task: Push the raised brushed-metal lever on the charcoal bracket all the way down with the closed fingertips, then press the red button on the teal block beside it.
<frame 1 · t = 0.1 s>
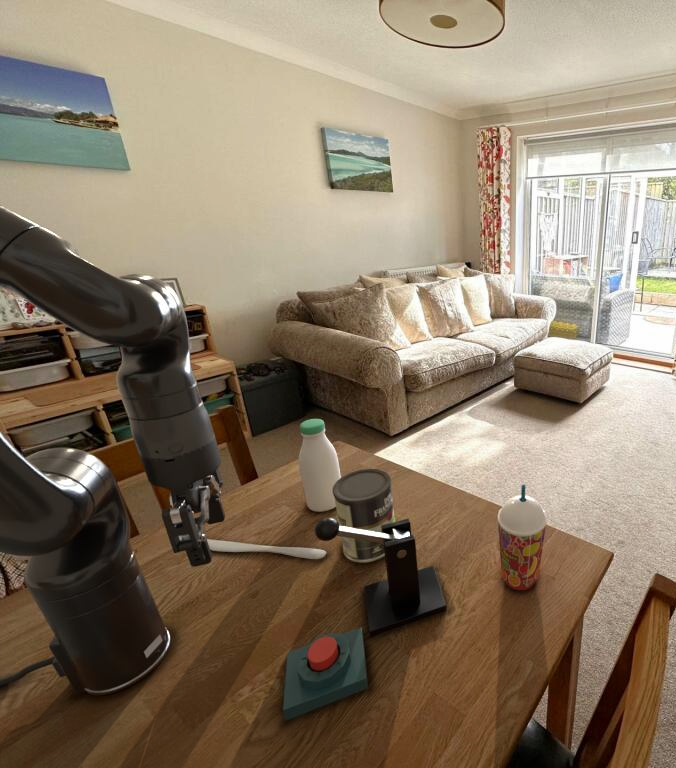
hand: (210, 541, 56), 17 cm above the table, tool pointing down, fingers open, 8 cm apart
butter knife: (258, 550, 77), on the table
lever: (364, 535, 60), point 16 cm above the table, hinge at 30.0°
button: (323, 653, 55), point 5 cm above the table, slide at 0.2 cm
button block: (328, 675, 57), on the table
bracket: (404, 601, 68), on the table
smoothie: (519, 578, 73), on the table
milk bottle: (326, 502, 91), on the table
coffee can: (370, 543, 80), on the table
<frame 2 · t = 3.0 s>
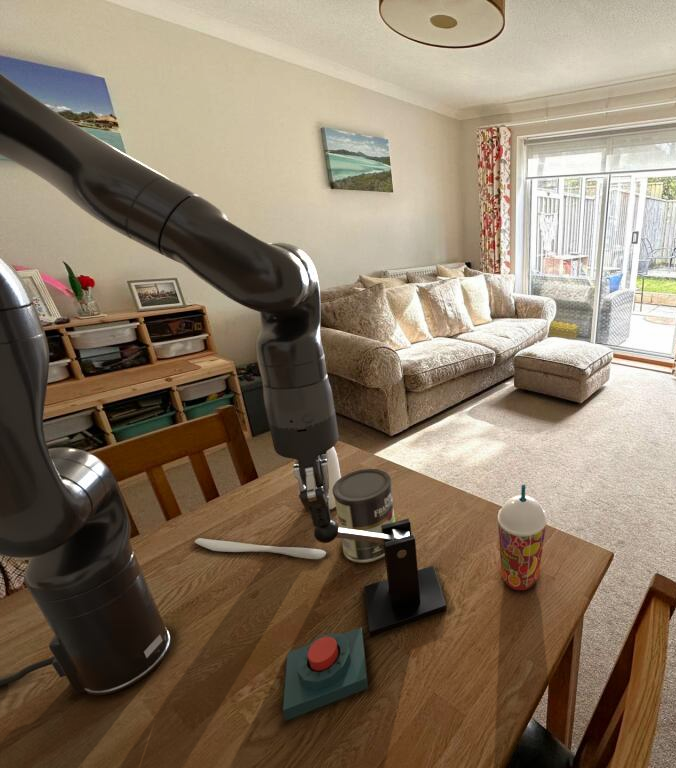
hand: (322, 522, 57), 20 cm above the table, tool pointing down, fingers closed
lever: (363, 536, 60), point 16 cm above the table, hinge at 28.2°, touching gripper
everything else where it was.
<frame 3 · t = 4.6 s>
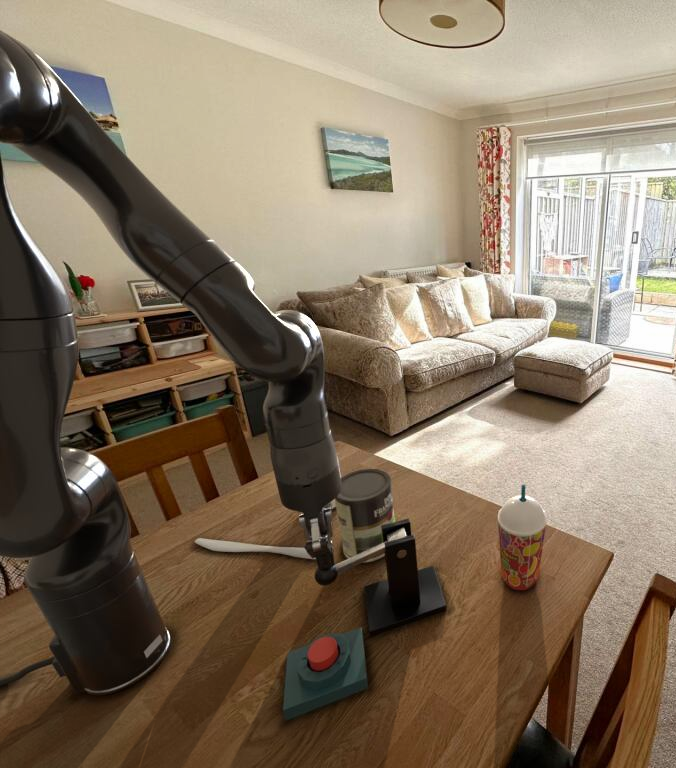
hand: (326, 564, 59), 12 cm above the table, tool pointing down, fingers closed
lever: (362, 557, 62), point 12 cm above the table, hinge at -13.2°, touching gripper
everything else where it was.
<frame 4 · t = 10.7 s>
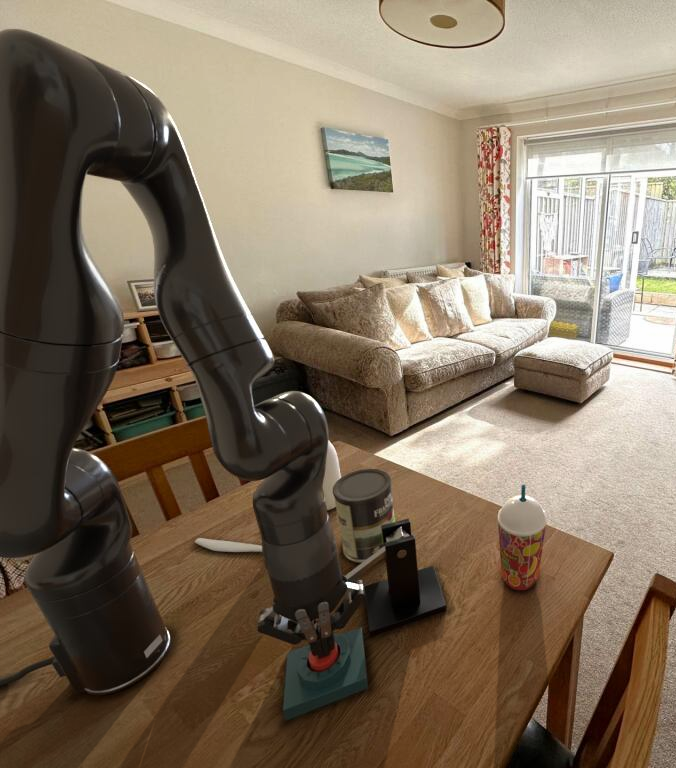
hand: (324, 651, 55), 5 cm above the table, tool pointing down, fingers closed
lever: (368, 563, 62), point 10 cm above the table, hinge at -30.5°
button: (323, 656, 55), point 4 cm above the table, slide at -0.5 cm, touching gripper
everything else where it was.
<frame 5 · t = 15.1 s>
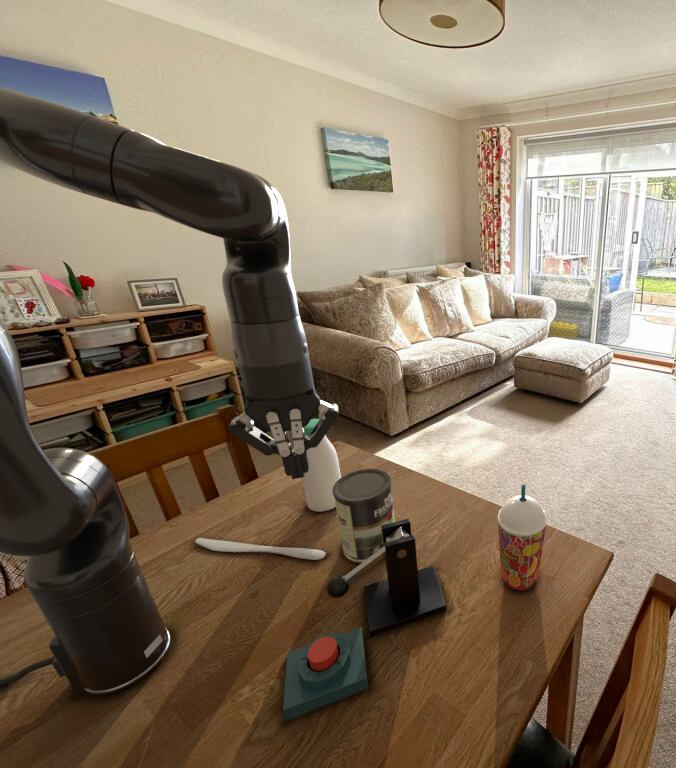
hand: (298, 475, 55), 27 cm above the table, tool pointing down, fingers closed
button: (323, 653, 55), point 5 cm above the table, slide at 0.2 cm
everything else where it was.
at the end: lever at -30° (first picture: +30°); button pushed in 1.1 cm at the most during the clip, back to 0.2 cm at the end; milk bottle moved 0.2 cm from its start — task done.
